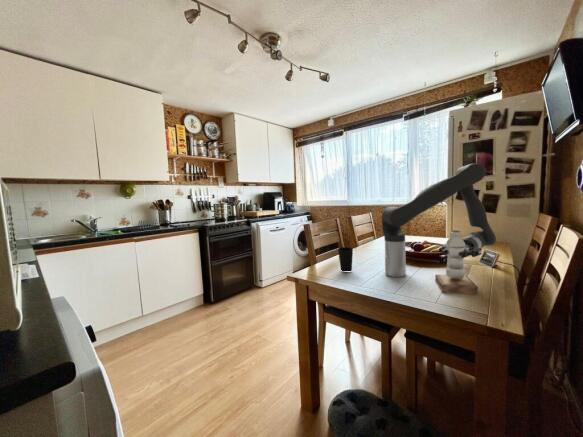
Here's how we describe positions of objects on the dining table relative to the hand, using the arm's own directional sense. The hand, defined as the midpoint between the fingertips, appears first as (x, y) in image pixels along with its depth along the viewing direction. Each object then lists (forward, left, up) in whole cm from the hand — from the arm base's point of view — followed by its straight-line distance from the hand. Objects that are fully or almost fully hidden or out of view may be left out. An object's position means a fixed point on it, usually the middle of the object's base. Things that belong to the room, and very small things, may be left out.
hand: (452, 254), depth 102 cm
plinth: (+1, +2, -15) cm, 15 cm away
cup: (-45, +17, -15) cm, 50 cm away
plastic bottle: (+1, +2, -11) cm, 11 cm away
